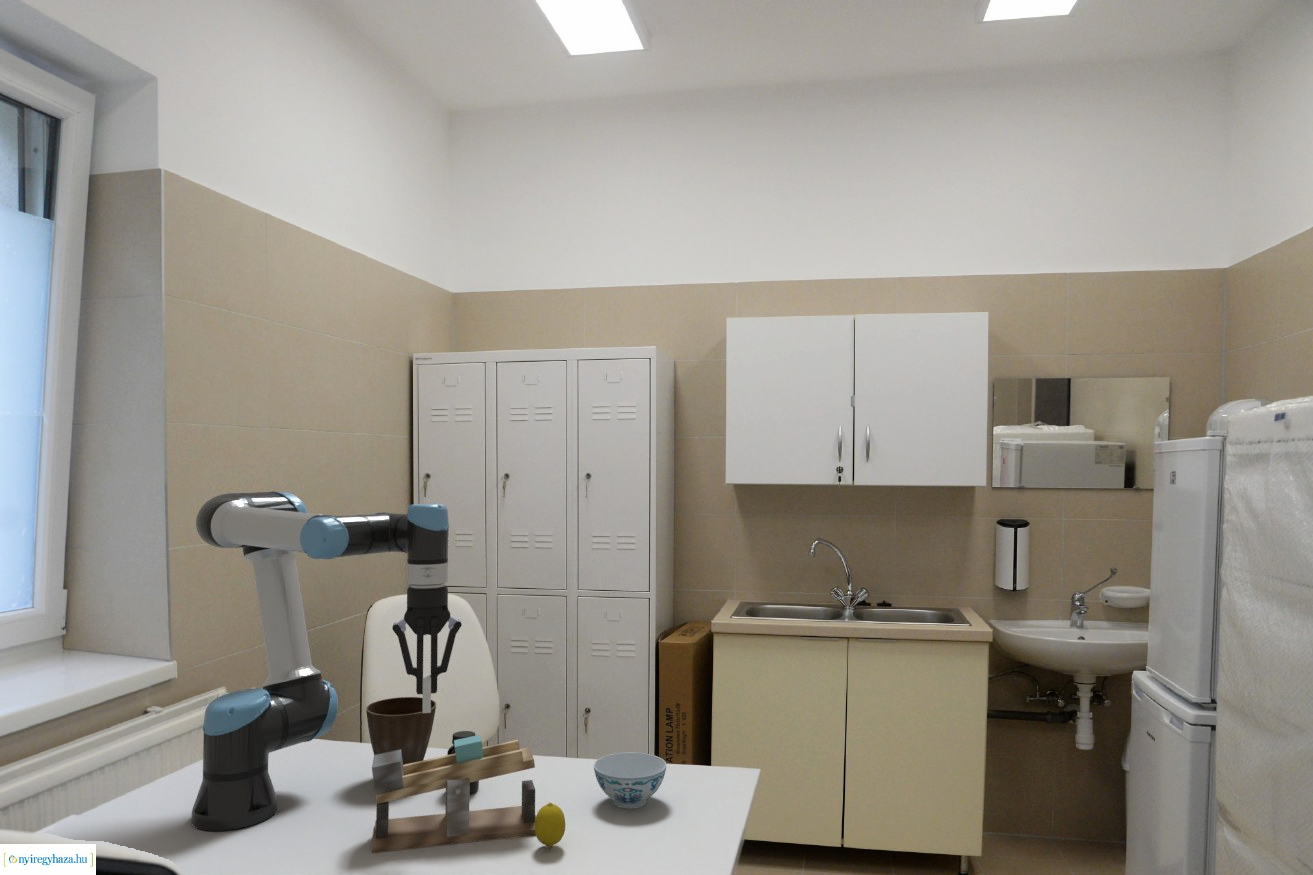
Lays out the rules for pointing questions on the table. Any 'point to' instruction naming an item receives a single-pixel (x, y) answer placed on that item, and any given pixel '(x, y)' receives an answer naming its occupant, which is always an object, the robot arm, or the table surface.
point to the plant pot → (400, 727)
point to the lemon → (550, 825)
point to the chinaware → (630, 777)
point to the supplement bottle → (456, 736)
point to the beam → (443, 770)
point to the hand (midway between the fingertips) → (426, 710)
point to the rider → (468, 749)
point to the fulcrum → (455, 822)
